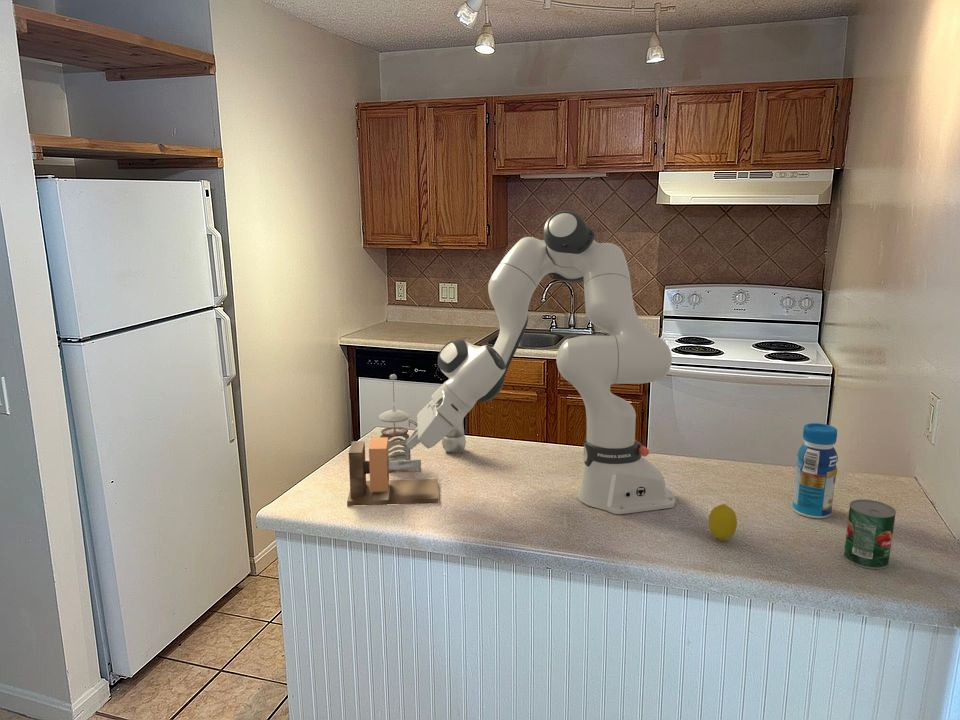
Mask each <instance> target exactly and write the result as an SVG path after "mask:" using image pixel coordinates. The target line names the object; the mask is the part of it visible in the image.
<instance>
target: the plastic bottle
mask: <svg viewBox="0 0 960 720" xmlns="http://www.w3.org/2000/svg"><path fill="white" fill-rule="evenodd" d="M464 427H465V426H464V421H463V422H462V423H461V425H460V426H459V427H457V428H455V427H454V426H453V429H452V430H451V431H450V432H449V433H448V434H447V435H446V436H445V437H444V438H443V439H442V440H441V444H442V449H443V450H444V451H445V452H448V453H461V452H463V451H464V450H465V449H466V445H467V440H466V436H465V429H464Z"/></svg>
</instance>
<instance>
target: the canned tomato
mask: <svg viewBox="0 0 960 720" xmlns="http://www.w3.org/2000/svg"><path fill="white" fill-rule="evenodd" d="M849 502H850V503H849V511H848V517H847V525H846V526H847V527H846V533H845V542H844V549H843V550H844V551H843V558H844V559H845V560H846V561H847V562H849V564H852V565H854V566H857V567H860V568H863V569H868V570H882V569H883V570H884V569H886V568H888V567H889V565H890V557H891V556H890V555H891V549H892V541H893V536H894V528H895V520H896V514H897V510H896V509H895V508H894V507H893V506H891V505H889V504H886V503H884V502H882V501H876V500H871V499H861V498H860V499H855V500H851V501H849Z"/></svg>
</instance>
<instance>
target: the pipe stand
mask: <svg viewBox="0 0 960 720" xmlns="http://www.w3.org/2000/svg"><path fill="white" fill-rule="evenodd" d="M350 444H351V445H350V448H349V450H348V466H349V469H348V470H349V491H348V495H347V499H346V500H347V501H346V502H347V503H346V504H347V507H354V506H353V505H367V506H388V505H387V504H399V505H424V504H425V505H427V504H429V505H431V504H439V500H440V499H439V480H438V478H426V479H425V478H424V479H419V478H418V479H389V485H388V491H381V492H370V480H367V474H364V461H366V442H365V440H357V441H356V440H354V441H351V443H350ZM430 503H431V504H430Z"/></svg>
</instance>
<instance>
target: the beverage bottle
mask: <svg viewBox="0 0 960 720" xmlns="http://www.w3.org/2000/svg"><path fill="white" fill-rule="evenodd" d="M802 431H803V432H802V440H803V442H804V443H802V445H800V448H799V449H798V452H797V457H798V459H797V460H796V462H795V477H794V486H793V497H792V504H791V507H792V509H793V511H794V512H795V513H796V514H799V515H800V516H803V517H806V518H811V519H826V518H829V517H830V516H831V515H832V512H833V502H834V495H835V494H834V493H835V488H836V487H835V485H836V478H837V475H838V467H837V463H838V462H839V456H838V453H837V451H836V449H835V447H834V446H835V444H836V443H837V439H838V429H837V428H836V427H835V426H833V425H829V424H825V423H817V422H812V423H806V424H805V425H803V429H802Z"/></svg>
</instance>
